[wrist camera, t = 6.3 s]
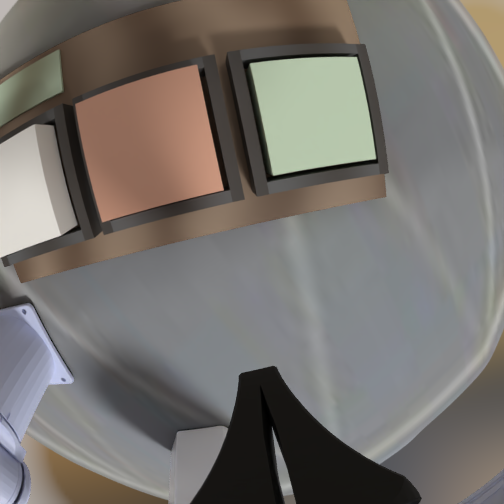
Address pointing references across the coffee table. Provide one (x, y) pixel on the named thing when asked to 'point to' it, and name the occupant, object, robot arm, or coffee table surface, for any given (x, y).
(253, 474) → the robot arm
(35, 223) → the key white
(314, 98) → the key sage
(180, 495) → the jar
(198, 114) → the key terracotta
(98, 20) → the coffee table surface
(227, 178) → the console
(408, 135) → the coffee table surface
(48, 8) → the coffee table surface
